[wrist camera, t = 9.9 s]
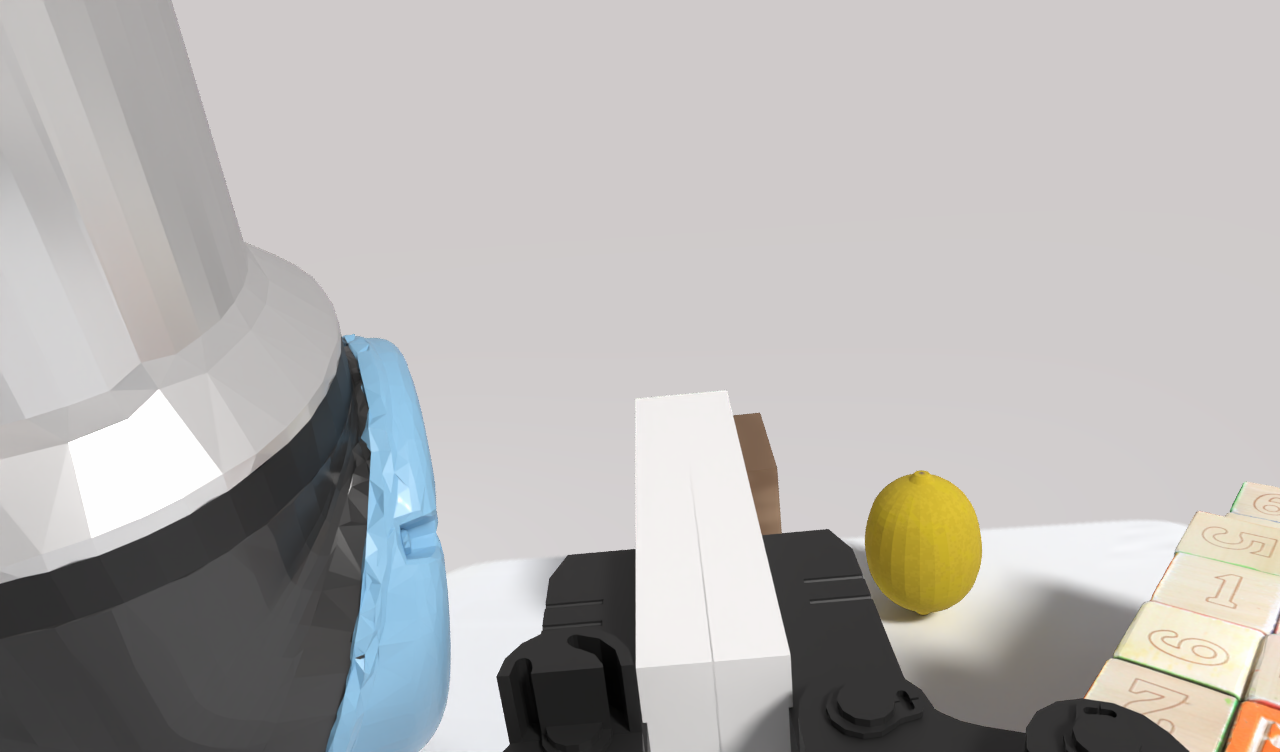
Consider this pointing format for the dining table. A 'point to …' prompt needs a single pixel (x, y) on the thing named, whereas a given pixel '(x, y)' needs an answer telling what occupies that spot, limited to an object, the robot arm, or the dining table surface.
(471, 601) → the dining table surface
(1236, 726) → the stack of blocks
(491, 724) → the dining table surface
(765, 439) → the block
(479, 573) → the dining table surface
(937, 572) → the lemon
